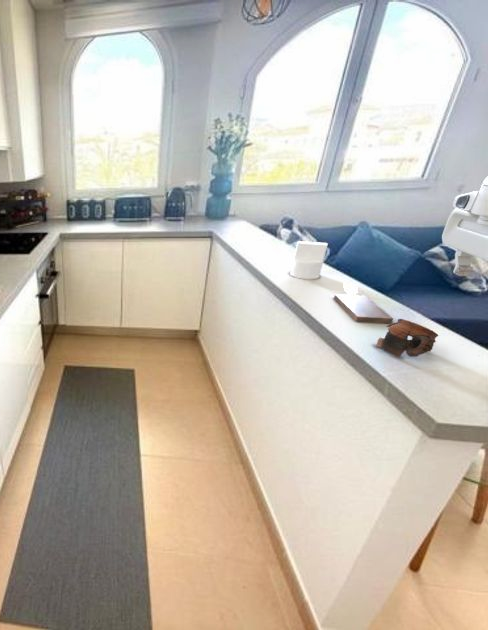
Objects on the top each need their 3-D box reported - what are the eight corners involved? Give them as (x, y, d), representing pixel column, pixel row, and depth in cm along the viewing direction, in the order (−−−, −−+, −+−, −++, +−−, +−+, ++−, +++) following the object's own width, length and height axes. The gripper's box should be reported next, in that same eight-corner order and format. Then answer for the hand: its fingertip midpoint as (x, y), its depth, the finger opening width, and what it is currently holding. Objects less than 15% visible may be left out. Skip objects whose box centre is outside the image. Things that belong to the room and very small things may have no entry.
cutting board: (364, 299, 105) (365, 295, 105) (391, 323, 92) (393, 318, 91) (333, 298, 108) (334, 294, 107) (355, 321, 94) (357, 316, 93)
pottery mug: (363, 341, 86) (386, 312, 84) (400, 359, 85) (423, 331, 83) (397, 355, 74) (424, 323, 72) (440, 377, 73) (469, 345, 71)
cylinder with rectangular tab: (319, 272, 128) (327, 240, 123) (319, 280, 121) (327, 247, 116) (291, 269, 133) (298, 239, 127) (289, 277, 126) (296, 245, 121)
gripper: (608, 215, 47) (553, 307, 53) (491, 194, 64) (460, 265, 70) (546, 216, 48) (499, 305, 54) (448, 196, 66) (421, 264, 72)
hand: (476, 282), depth 62 cm, fingers open, 7 cm apart
